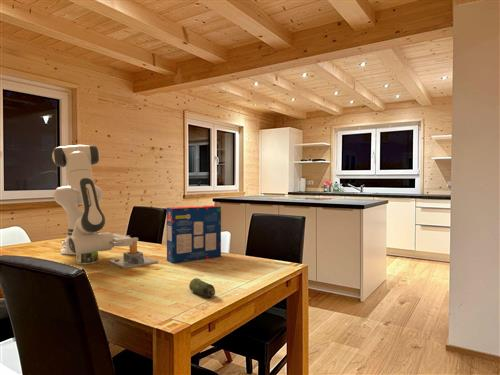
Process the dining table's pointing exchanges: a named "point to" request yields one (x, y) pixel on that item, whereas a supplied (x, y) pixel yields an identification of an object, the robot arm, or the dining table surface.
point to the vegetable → (202, 288)
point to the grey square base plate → (132, 260)
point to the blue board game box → (193, 233)
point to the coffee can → (87, 258)
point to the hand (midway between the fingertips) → (133, 238)
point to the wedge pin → (133, 248)
